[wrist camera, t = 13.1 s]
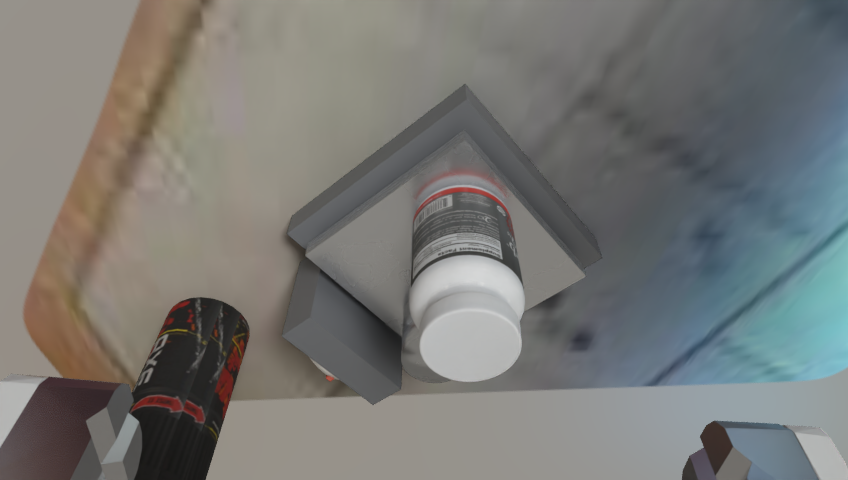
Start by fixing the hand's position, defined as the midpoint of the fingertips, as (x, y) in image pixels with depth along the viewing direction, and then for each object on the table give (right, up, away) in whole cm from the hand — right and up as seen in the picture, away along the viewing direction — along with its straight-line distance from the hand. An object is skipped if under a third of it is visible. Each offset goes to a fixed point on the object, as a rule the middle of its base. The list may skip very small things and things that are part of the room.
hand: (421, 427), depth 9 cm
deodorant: (-16, -4, +39) cm, 42 cm away
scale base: (0, +3, +34) cm, 34 cm away
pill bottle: (+2, +4, +29) cm, 29 cm away
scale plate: (+1, +2, +31) cm, 31 cm away
